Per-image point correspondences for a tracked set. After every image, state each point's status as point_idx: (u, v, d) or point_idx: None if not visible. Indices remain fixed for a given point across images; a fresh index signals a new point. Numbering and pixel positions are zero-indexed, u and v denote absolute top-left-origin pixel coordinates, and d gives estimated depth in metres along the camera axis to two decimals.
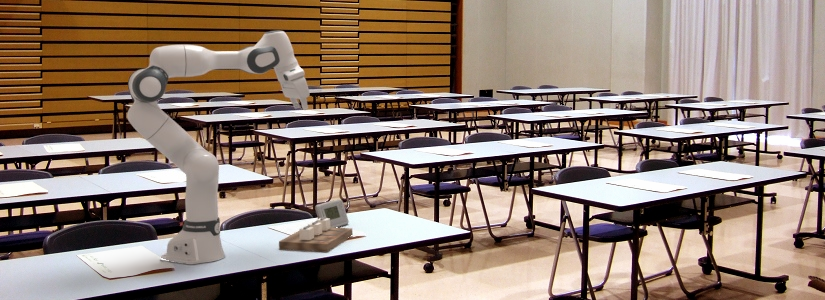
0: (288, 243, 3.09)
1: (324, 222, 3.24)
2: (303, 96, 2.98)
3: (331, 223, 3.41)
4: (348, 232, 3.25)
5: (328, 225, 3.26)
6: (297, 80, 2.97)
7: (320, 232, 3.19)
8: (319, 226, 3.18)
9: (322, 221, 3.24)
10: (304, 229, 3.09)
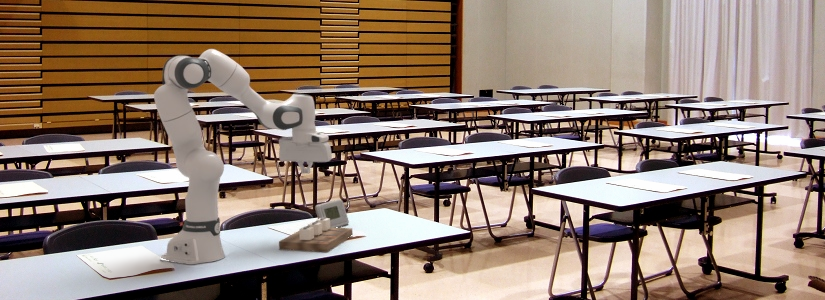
0: (288, 243, 3.09)
1: (324, 222, 3.24)
2: (329, 159, 3.13)
3: (331, 223, 3.41)
4: (348, 232, 3.25)
5: (328, 225, 3.26)
6: (326, 143, 3.13)
7: (320, 232, 3.19)
8: (319, 226, 3.18)
9: (322, 221, 3.24)
10: (304, 229, 3.09)
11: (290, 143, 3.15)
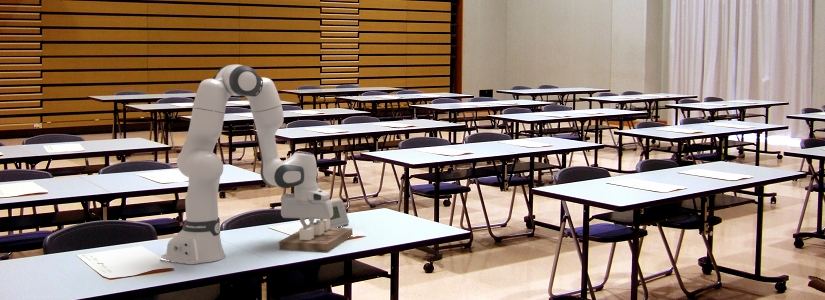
0: (288, 243, 3.09)
1: (324, 222, 3.24)
2: (330, 216, 3.16)
3: (331, 223, 3.40)
4: (348, 232, 3.25)
5: (328, 225, 3.26)
6: (327, 201, 3.16)
7: (322, 232, 3.19)
8: (321, 226, 3.18)
9: (322, 221, 3.24)
10: (304, 229, 3.09)
11: (292, 200, 3.19)
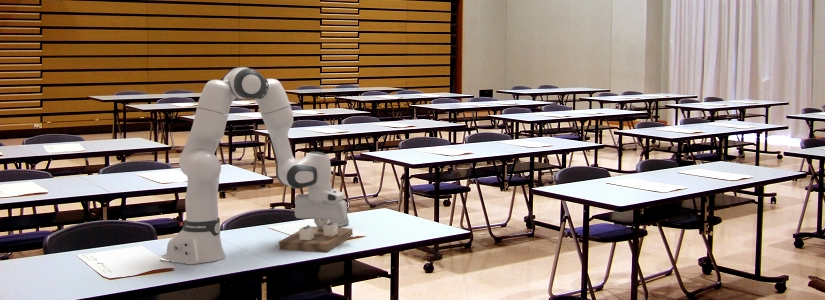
0: (288, 243, 3.09)
1: None
2: (345, 217, 3.15)
3: None
4: (348, 232, 3.25)
5: None
6: (342, 201, 3.14)
7: (335, 233, 3.17)
8: (334, 227, 3.16)
9: None
10: (304, 229, 3.09)
11: (306, 201, 3.17)
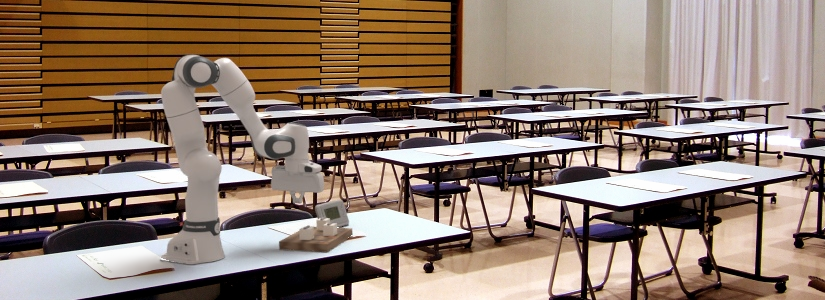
0: (288, 243, 3.09)
1: (324, 222, 3.24)
2: (321, 190, 3.10)
3: None
4: (348, 232, 3.25)
5: None
6: (318, 174, 3.10)
7: (335, 233, 3.17)
8: (334, 227, 3.16)
9: (322, 221, 3.24)
10: (304, 229, 3.09)
11: (283, 172, 3.12)
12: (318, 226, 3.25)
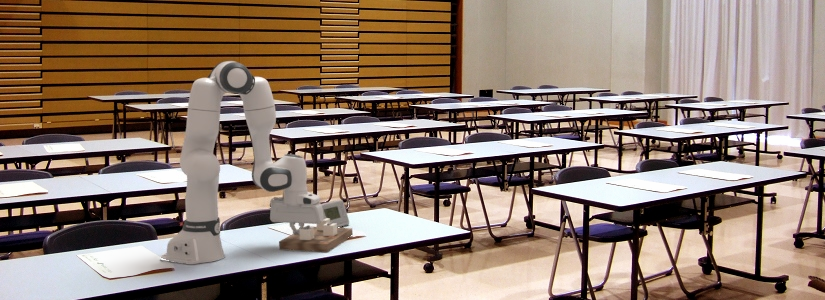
0: (288, 243, 3.09)
1: (324, 222, 3.24)
2: (321, 221, 3.09)
3: None
4: (348, 232, 3.25)
5: None
6: (317, 205, 3.08)
7: (335, 233, 3.17)
8: (334, 227, 3.16)
9: (322, 221, 3.24)
10: (304, 229, 3.09)
11: (281, 204, 3.11)
12: (318, 226, 3.25)
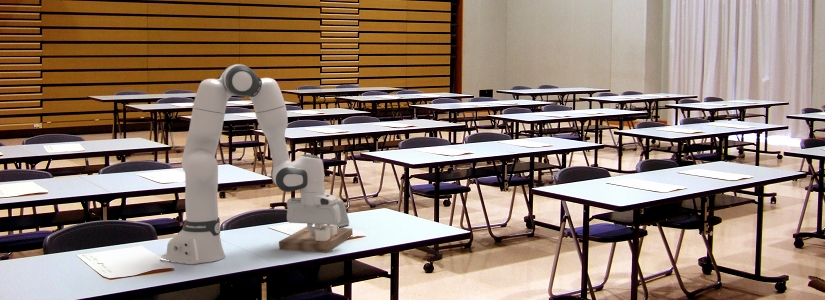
0: (288, 243, 3.09)
1: None
2: (338, 222, 3.07)
3: None
4: (348, 232, 3.25)
5: None
6: (335, 206, 3.07)
7: (335, 233, 3.17)
8: (334, 227, 3.16)
9: None
10: (320, 230, 3.08)
11: (298, 205, 3.09)
12: None
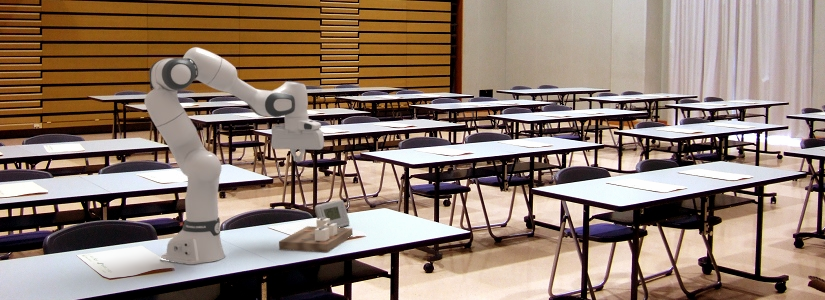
0: (288, 243, 3.09)
1: (324, 222, 3.24)
2: (321, 147, 3.13)
3: None
4: (348, 232, 3.25)
5: None
6: (318, 131, 3.13)
7: (335, 233, 3.17)
8: (334, 227, 3.16)
9: (322, 221, 3.24)
10: (319, 230, 3.08)
11: (282, 131, 3.16)
12: (318, 226, 3.25)
